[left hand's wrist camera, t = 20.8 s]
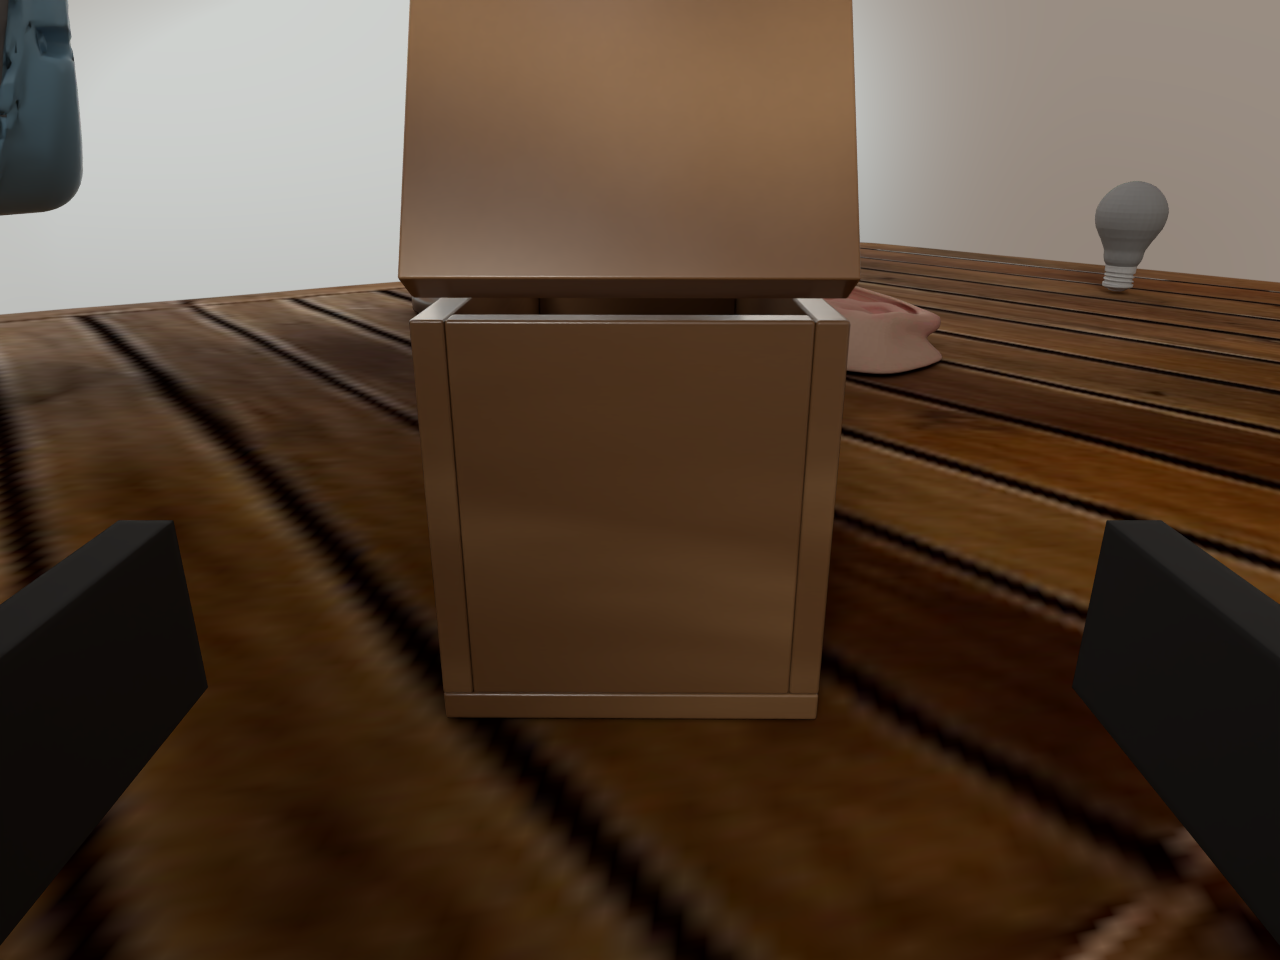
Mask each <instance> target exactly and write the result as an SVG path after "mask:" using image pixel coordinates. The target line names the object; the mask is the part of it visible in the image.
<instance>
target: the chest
mask: <svg viewBox="0 0 1280 960" xmlns="http://www.w3.org/2000/svg"><path fill="white" fill-rule="evenodd" d="M850 325H851V324H850V321H849V320H847V319H846V318H845V317H844V316H843V315H842V314H840V313H839V312H838V311H837V310H836V309H834V308H833V307H832V306H831V305H830V304H828V303H827V302H826V301H825V300H824V299H802V298H440V299H439V300H438V301H436V302H435V303H433V304H432V305H431V306H429V307H428V308H426V309H425V310H424V311H422V312H421V313H420V314H418V315H417V316H415V317H414V318H413V319H411V320H410V322H409V326H410V336H411V347H412V358H413V368H414V379H415V390H416V400H417V411H418V422H419V432H420V443H421V454H422V464H423V475H424V486H425V496H426V507H427V518H428V528H429V539H430V550H431V560H432V571H433V582H434V592H435V603H436V614H437V624H438V635H439V646H440V656H441V667H442V678H443V688H444V692H445V694H444V698H445V709H446V716H447V717H449V718H651V719H816V716H817V705H818V694H817V693H818V691H819V681H820V670H821V658H822V647H823V635H824V624H825V612H826V601H827V589H828V578H829V566H830V555H831V543H832V532H833V520H834V509H835V497H836V486H837V474H838V463H839V451H840V440H841V428H842V417H843V405H844V394H845V382H846V371H847V359H848V348H849V336H850Z"/></svg>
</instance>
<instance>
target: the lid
mask: <svg viewBox="0 0 1280 960" xmlns="http://www.w3.org/2000/svg"><path fill="white" fill-rule="evenodd" d="M854 76H855V75H854V43H853V12H852V0H410V8H409V32H408V56H407V78H406V102H405V125H404V149H403V172H402V196H401V219H400V242H399V265H398V278H399V280H400V281H401V282H402V284H403V285H404V286H405V288H406V289H407V290H408V291H409V293H410V294H411V295H412V297H414V298H802V299H846V298H848V297H849V295H850V294H851V292H852V291H853V289H854V288H855V286H856V285H857V283H858V282H859V280H860V278H861V267H860V235H859V203H858V171H857V140H856V107H855V77H854Z"/></svg>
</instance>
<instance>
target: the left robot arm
mask: <svg viewBox="0 0 1280 960" xmlns="http://www.w3.org/2000/svg"><path fill="white" fill-rule="evenodd" d="M70 39H71V32H70V24H69V15H68V0H0V215H12V214H24V213H36V212H45V211H50V210H53V209H56V208H59V207H61V206H63V205H64V204H66V203H67V202H69V201H70V200H71V199H72V198H73V197H74V195H75V194H76V192H77V191H78V188H79V186H80V184H81V179H82V173H83V163H82V162H83V161H82V160H83V157H82V137H81V123H80V112H79V101H78V90H77V82H76V73H75V64H74V57H73V51H72V49H71V44H70ZM207 688H208V685H207V680H206V676H205V671H204V666H203V661H202V656H201V652H200V647H199V642H198V637H197V632H196V627H195V623H194V618H193V613H192V608H191V603H190V599H189V594H188V589H187V584H186V579H185V575H184V570H183V565H182V560H181V555H180V550H179V546H178V541H177V536H176V531H175V526H174V522H173V520H119V521H117V522H116V523H115V524H113V525H112V526H110V527H109V528H108V529H106V530H105V531H103V532H102V533H101V534H99V535H98V536H96V537H95V538H93V539H92V540H91V541H89V542H88V543H86V544H85V545H84V546H82V547H81V548H79V549H78V550H77V551H75V552H74V553H72V554H71V555H70V556H68V557H67V558H65V559H64V560H63V561H61V562H60V563H58V564H57V565H56V566H54V567H53V568H51V569H50V570H48V571H47V572H46V573H44V574H43V575H41V576H40V577H39V578H37V579H36V580H34V581H33V582H32V583H30V584H29V585H27V586H26V587H25V588H23V589H22V590H20V591H19V592H18V593H16V594H15V595H13V596H12V597H10V598H9V599H8V600H6V601H5V602H3V603H2V604H1V605H0V945H1V944H2V943H3V941H4V940H5V939H6V938H7V936H8V935H9V934H10V933H11V931H12V930H13V929H14V928H15V926H16V925H17V924H18V923H19V921H20V920H21V919H22V918H23V916H24V915H25V914H26V913H27V911H28V910H29V909H30V908H31V907H32V905H33V904H34V903H35V902H36V900H37V899H38V898H39V897H40V895H41V894H42V893H43V892H44V890H45V889H46V888H47V887H48V885H49V884H50V883H51V882H52V880H53V879H54V878H55V877H56V875H57V874H58V873H59V872H60V870H61V869H62V868H63V867H64V865H65V864H66V863H67V862H68V861H69V859H70V858H71V857H72V856H73V854H74V853H75V852H76V851H77V849H78V848H79V847H80V846H81V844H82V843H83V842H84V841H85V839H86V838H87V837H88V836H89V834H90V833H91V832H92V831H93V829H94V828H95V827H96V826H97V824H98V823H99V822H100V821H101V819H102V818H103V817H104V816H105V815H106V813H107V812H108V811H109V810H110V808H111V807H112V806H113V805H114V803H115V802H116V801H117V800H118V798H119V797H120V796H121V795H122V793H123V792H124V791H125V790H126V788H127V787H128V786H129V785H130V783H131V782H132V781H133V780H134V778H135V777H136V776H137V775H138V773H139V772H140V771H141V770H142V769H143V767H144V766H145V765H146V764H147V762H148V761H149V760H150V759H151V757H152V756H153V755H154V754H155V752H156V751H157V750H158V749H159V747H160V746H161V745H162V744H163V742H164V741H165V740H166V739H167V737H168V736H169V735H170V734H171V732H172V731H173V730H174V729H175V727H176V726H177V725H178V724H179V723H180V721H181V720H182V719H183V718H184V716H185V715H186V714H187V713H188V711H189V710H190V709H191V708H192V706H193V705H194V704H195V703H196V701H197V700H198V699H199V698H200V696H201V695H202V694H203V693H204V691H205V690H206V689H207ZM1072 688H1073V689H1074V690H1075V691H1076V693H1077V694H1078V695H1079V696H1080V698H1081V699H1082V700H1083V701H1084V703H1085V704H1086V705H1087V706H1088V708H1089V709H1090V710H1091V711H1092V713H1093V714H1094V715H1095V716H1096V718H1097V719H1098V720H1099V721H1100V723H1101V724H1102V725H1103V726H1104V727H1105V729H1106V730H1107V731H1108V732H1109V734H1110V735H1111V736H1112V737H1113V739H1114V740H1115V741H1116V742H1117V744H1118V745H1119V746H1120V747H1121V749H1122V750H1123V751H1124V752H1125V754H1126V755H1127V756H1128V757H1129V759H1130V760H1131V761H1132V762H1133V764H1134V765H1135V766H1136V767H1137V769H1138V770H1139V771H1140V772H1141V773H1142V775H1143V776H1144V777H1145V778H1146V780H1147V781H1148V782H1149V783H1150V785H1151V786H1152V787H1153V788H1154V790H1155V791H1156V792H1157V793H1158V795H1159V796H1160V797H1161V798H1162V800H1163V801H1164V802H1165V803H1166V805H1167V806H1168V807H1169V808H1170V810H1171V811H1172V812H1173V813H1174V815H1175V816H1176V817H1177V818H1178V819H1179V821H1180V822H1181V823H1182V824H1183V826H1184V827H1185V828H1186V829H1187V831H1188V832H1189V833H1190V834H1191V836H1192V837H1193V838H1194V839H1195V841H1196V842H1197V843H1198V844H1199V846H1200V847H1201V848H1202V849H1203V851H1204V852H1205V853H1206V854H1207V856H1208V857H1209V858H1210V859H1211V861H1212V862H1213V863H1214V864H1215V865H1216V867H1217V868H1218V869H1219V870H1220V872H1221V873H1222V874H1223V875H1224V877H1225V878H1226V879H1227V880H1228V882H1229V883H1230V884H1231V885H1232V887H1233V888H1234V889H1235V890H1236V892H1237V893H1238V894H1239V895H1240V897H1241V898H1242V899H1243V900H1244V902H1245V903H1246V904H1247V905H1248V907H1249V908H1250V909H1251V910H1252V911H1253V913H1254V914H1255V915H1256V916H1257V918H1258V919H1259V920H1260V921H1261V923H1262V924H1263V925H1264V926H1265V928H1266V929H1267V930H1268V931H1269V933H1270V934H1271V935H1272V936H1273V938H1274V939H1275V940H1276V941H1277V943H1278V944H1279V945H1280V605H1279V604H1278V603H1277V602H1275V601H1274V600H1272V599H1271V598H1270V597H1268V596H1267V595H1265V594H1264V593H1262V592H1261V591H1260V590H1258V589H1257V588H1255V587H1254V586H1253V585H1251V584H1250V583H1248V582H1247V581H1246V580H1244V579H1243V578H1241V577H1240V576H1239V575H1237V574H1236V573H1234V572H1233V571H1232V570H1230V569H1229V568H1227V567H1226V566H1224V565H1223V564H1222V563H1220V562H1219V561H1217V560H1216V559H1215V558H1213V557H1212V556H1210V555H1209V554H1208V553H1206V552H1205V551H1203V550H1202V549H1201V548H1199V547H1198V546H1196V545H1195V544H1194V543H1192V542H1191V541H1189V540H1188V539H1187V538H1185V537H1184V536H1182V535H1181V534H1179V533H1178V532H1177V531H1175V530H1174V529H1172V528H1171V527H1170V526H1168V525H1167V524H1165V523H1164V522H1163V521H1161V520H1107V522H1106V526H1105V531H1104V536H1103V541H1102V546H1101V550H1100V555H1099V560H1098V565H1097V570H1096V575H1095V579H1094V584H1093V589H1092V594H1091V599H1090V603H1089V608H1088V613H1087V618H1086V623H1085V627H1084V632H1083V637H1082V642H1081V647H1080V652H1079V656H1078V661H1077V666H1076V671H1075V676H1074V680H1073V685H1072Z"/></svg>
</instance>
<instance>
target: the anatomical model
mask: <svg viewBox="0 0 1280 960" xmlns="http://www.w3.org/2000/svg"><path fill="white" fill-rule="evenodd" d="M824 300H825V301H826V302H827V303H828V304H830V305H831V306H832V307H833V308H834V309H836V310H837V311H838V312H839V313H840V314H842V315H843V316H844V317H845V318H846V319H847V320H849V321H850V324H851V325H850V336H849V348H848V359H847V371H852V372H860V373H871V374H892V373H900V372H905V371H910V370H914V369H917V368H921V367H925V366H928V365H931V364H933V363H936V362H938V361H940V360H941V359H942V355H941V354H940V352H939V351H938V350H937V349H936V348H934V347H933V346H932V345H931V344H930V343H929V341H928V340H927V336H928V335H930V334H931V333H933V332H934V331H936V330H937V329H938V328H939V326H940V323H941V320H940V317H939V316H938V315H936V314H934V313H931V312H929V311H926V310H924V309H921V308H919V307H916V306H914V305H912V304H909V303H907V302H904V301H902V300H899V299H896V298H893V297H890V296H887V295H883V294H880V293H877V292H873V291H870V290H867V289H864V288H860V287H857V286H855V288H854V289H853V291H852V292H851V294H850V295H849V297H848V298H846V299H824Z"/></svg>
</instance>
